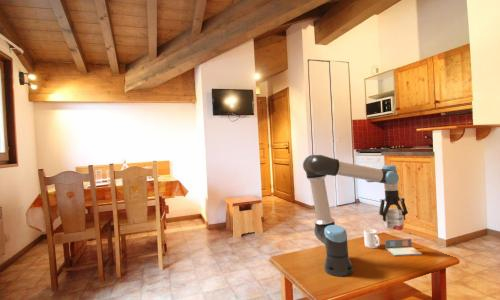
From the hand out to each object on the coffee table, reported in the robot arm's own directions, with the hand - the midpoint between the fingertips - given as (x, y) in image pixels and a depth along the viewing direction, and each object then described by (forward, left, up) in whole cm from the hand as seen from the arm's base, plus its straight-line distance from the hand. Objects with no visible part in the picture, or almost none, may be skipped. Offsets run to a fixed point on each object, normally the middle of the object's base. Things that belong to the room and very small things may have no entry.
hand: (394, 225), depth 163 cm
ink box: (0, 0, -2) cm, 2 cm away
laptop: (+4, 0, -17) cm, 17 cm away
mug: (-10, +10, -17) cm, 22 cm away
